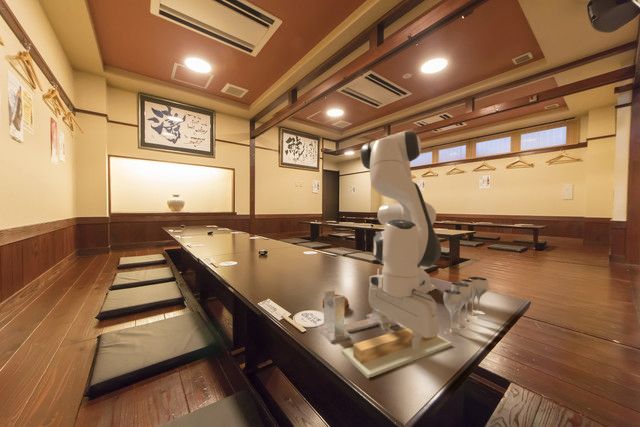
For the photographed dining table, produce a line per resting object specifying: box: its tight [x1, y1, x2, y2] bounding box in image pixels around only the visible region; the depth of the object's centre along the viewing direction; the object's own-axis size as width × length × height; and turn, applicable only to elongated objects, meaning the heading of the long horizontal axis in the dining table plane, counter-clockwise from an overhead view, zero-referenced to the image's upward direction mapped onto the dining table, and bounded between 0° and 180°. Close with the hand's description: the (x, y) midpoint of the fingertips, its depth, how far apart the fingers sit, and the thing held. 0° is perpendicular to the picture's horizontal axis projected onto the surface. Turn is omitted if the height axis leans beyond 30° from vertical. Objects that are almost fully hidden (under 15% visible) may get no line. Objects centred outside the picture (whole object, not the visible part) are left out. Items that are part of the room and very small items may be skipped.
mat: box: [341, 334, 453, 379], centre depth 62 cm, size 28×10×1 cm, turn 118°
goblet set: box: [442, 276, 490, 337], centre depth 79 cm, size 28×6×13 cm, turn 130°
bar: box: [352, 327, 438, 364], centre depth 62 cm, size 26×3×3 cm, turn 118°
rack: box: [317, 289, 399, 344], centre depth 73 cm, size 24×8×12 cm, turn 118°
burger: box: [322, 294, 350, 315], centre depth 86 cm, size 10×9×5 cm
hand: (398, 337), depth 62 cm, fingers open, 8 cm apart
